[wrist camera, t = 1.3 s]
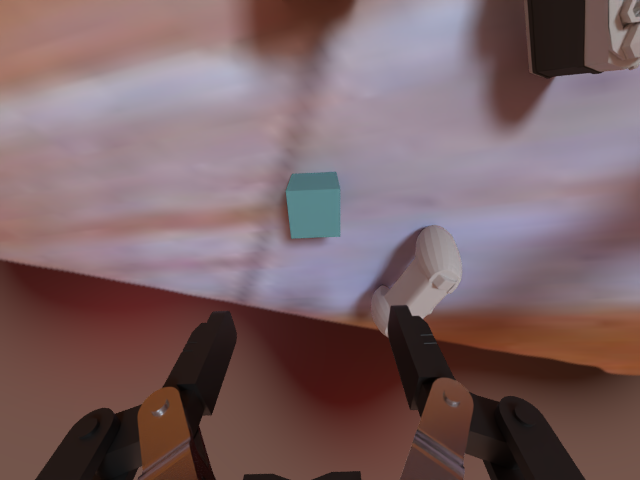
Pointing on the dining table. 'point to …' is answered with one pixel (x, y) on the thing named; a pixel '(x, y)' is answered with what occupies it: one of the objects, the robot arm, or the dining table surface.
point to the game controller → (421, 278)
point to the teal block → (314, 205)
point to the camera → (582, 36)
